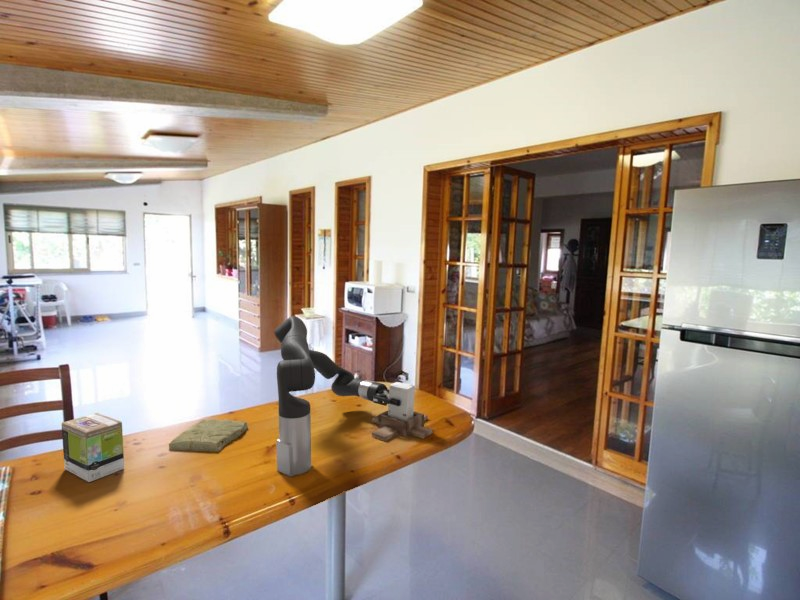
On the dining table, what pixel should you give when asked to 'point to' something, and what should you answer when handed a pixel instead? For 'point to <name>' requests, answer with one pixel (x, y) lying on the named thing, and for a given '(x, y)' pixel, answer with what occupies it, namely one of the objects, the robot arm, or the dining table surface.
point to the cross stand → (400, 426)
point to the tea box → (93, 446)
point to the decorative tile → (208, 435)
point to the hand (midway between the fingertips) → (406, 400)
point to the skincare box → (402, 401)
